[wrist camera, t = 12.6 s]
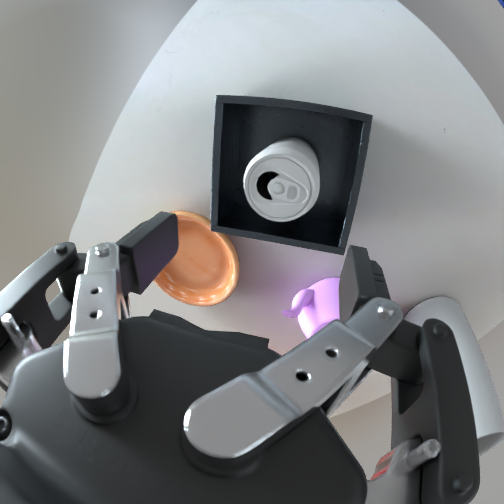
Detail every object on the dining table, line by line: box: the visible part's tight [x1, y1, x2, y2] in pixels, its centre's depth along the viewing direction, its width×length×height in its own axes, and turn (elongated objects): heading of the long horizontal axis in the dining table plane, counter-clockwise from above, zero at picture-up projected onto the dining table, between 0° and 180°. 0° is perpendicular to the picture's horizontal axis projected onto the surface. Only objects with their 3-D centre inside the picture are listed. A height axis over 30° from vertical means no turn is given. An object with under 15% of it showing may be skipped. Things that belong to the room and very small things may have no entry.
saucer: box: [154, 211, 239, 306], centre depth 41 cm, size 16×16×3 cm
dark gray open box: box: [211, 95, 373, 255], centre depth 29 cm, size 15×15×8 cm
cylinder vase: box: [404, 297, 504, 457], centre depth 28 cm, size 12×12×25 cm
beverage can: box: [244, 137, 320, 222], centre depth 26 cm, size 6×6×12 cm
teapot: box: [282, 278, 340, 339], centre depth 37 cm, size 12×14×9 cm
